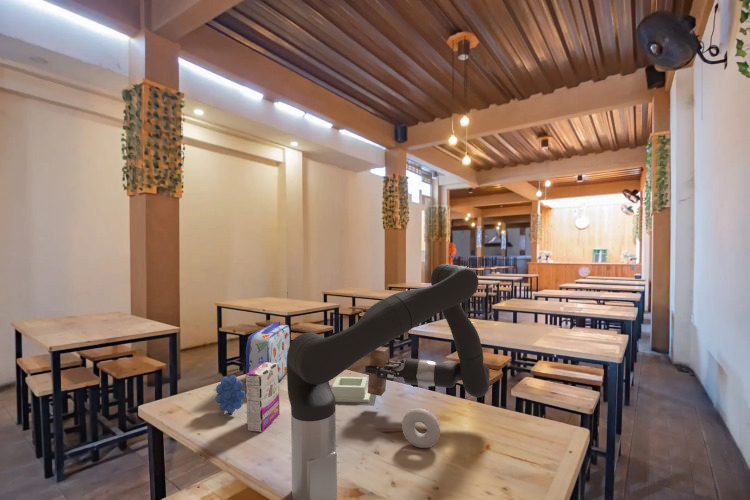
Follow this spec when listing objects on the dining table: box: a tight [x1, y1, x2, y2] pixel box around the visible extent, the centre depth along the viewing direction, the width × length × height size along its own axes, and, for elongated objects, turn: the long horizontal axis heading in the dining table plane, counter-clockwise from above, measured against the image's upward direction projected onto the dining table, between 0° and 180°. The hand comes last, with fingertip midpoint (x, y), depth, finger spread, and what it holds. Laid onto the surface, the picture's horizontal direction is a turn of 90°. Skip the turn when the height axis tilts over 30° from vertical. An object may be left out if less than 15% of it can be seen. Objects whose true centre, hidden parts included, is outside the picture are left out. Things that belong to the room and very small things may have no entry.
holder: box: [332, 376, 371, 403], centre depth 128 cm, size 14×12×4 cm
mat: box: [329, 384, 377, 407], centre depth 128 cm, size 18×16×1 cm
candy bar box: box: [245, 362, 281, 433], centre depth 109 cm, size 11×5×16 cm, turn 168°
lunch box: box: [244, 321, 291, 385], centre depth 143 cm, size 28×10×22 cm, turn 176°
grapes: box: [215, 375, 246, 414], centre depth 117 cm, size 12×7×12 cm, turn 66°
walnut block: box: [368, 346, 390, 397], centre depth 117 cm, size 4×4×14 cm
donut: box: [401, 407, 441, 449], centre depth 95 cm, size 10×4×10 cm, turn 69°
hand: (368, 366), depth 118 cm, fingers closed on walnut block, 4 cm apart
